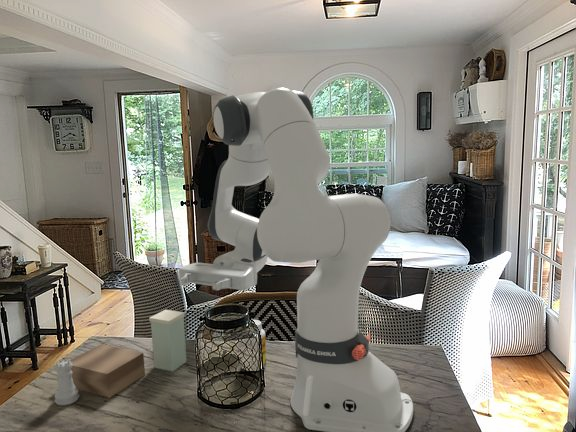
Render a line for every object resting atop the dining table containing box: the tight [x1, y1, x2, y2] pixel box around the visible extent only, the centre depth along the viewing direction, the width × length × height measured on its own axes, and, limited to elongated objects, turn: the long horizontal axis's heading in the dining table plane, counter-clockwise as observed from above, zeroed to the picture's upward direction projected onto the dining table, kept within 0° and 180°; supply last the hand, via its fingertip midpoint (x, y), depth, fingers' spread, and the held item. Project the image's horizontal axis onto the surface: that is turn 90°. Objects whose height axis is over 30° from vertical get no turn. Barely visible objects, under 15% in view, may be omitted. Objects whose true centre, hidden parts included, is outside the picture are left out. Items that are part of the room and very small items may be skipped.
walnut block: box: [70, 343, 146, 399], centre depth 99 cm, size 12×10×5 cm
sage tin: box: [148, 309, 187, 372], centre depth 105 cm, size 5×5×12 cm
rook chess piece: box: [54, 358, 80, 407], centre depth 91 cm, size 4×4×8 cm
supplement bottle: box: [252, 319, 267, 369], centre depth 102 cm, size 6×6×10 cm
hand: (198, 284), depth 114 cm, fingers open, 8 cm apart
